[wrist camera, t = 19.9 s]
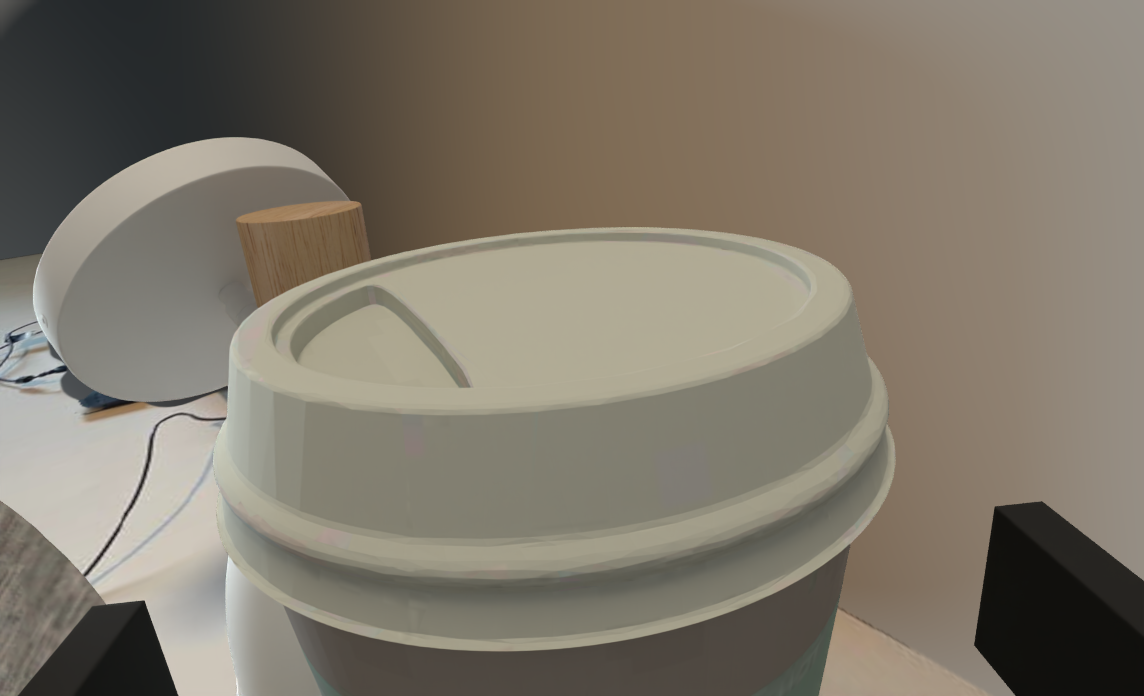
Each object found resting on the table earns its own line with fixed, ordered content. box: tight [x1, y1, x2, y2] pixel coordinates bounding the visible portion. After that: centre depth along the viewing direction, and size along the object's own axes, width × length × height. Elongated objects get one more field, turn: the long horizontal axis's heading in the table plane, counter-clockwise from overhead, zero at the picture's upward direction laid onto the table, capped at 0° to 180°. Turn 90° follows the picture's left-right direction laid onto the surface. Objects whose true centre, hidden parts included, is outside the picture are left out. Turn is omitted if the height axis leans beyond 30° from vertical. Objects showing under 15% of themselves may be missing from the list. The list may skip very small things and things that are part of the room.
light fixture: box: [33, 137, 371, 696], centre depth 28 cm, size 13×21×20 cm
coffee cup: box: [213, 227, 895, 696], centre depth 14 cm, size 11×11×15 cm
